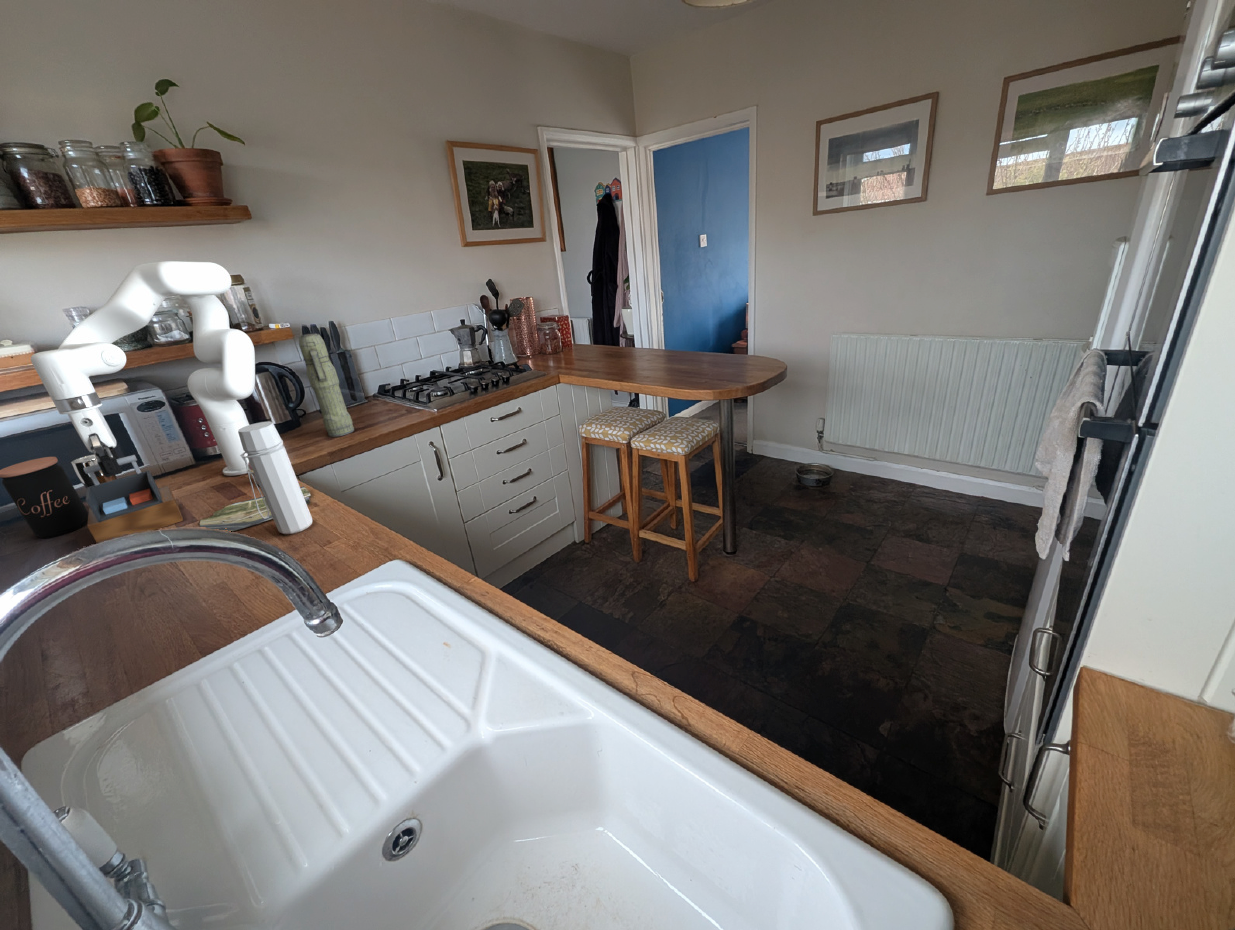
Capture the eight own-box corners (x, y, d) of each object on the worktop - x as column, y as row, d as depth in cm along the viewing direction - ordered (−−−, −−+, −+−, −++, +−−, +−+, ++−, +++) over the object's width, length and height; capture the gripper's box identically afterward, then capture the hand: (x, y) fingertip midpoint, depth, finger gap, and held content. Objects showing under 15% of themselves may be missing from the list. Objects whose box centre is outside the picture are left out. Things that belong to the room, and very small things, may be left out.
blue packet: (126, 502, 130) (124, 497, 129) (127, 508, 126) (124, 502, 126) (105, 508, 127) (102, 503, 127) (105, 514, 124) (102, 509, 123)
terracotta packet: (152, 493, 133) (149, 488, 133) (153, 499, 130) (150, 493, 129) (132, 499, 131) (129, 494, 130) (132, 505, 127) (129, 499, 127)
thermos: (330, 439, 182) (295, 338, 168) (326, 432, 191) (292, 335, 177) (357, 432, 186) (325, 333, 173) (351, 425, 196) (321, 330, 182)
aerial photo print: (203, 547, 118) (200, 540, 117) (193, 522, 131) (190, 516, 130) (321, 503, 133) (319, 498, 132) (302, 485, 146) (300, 480, 145)
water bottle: (308, 516, 126) (270, 418, 116) (318, 526, 121) (279, 424, 111) (266, 533, 121) (222, 431, 111) (274, 543, 115) (229, 438, 105)
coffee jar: (28, 544, 129) (-15, 478, 122) (47, 526, 138) (8, 464, 131) (83, 530, 133) (45, 465, 126) (98, 514, 142) (64, 453, 135)
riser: (178, 505, 142) (168, 485, 139) (183, 520, 132) (172, 499, 130) (100, 529, 132) (88, 509, 130) (100, 548, 123) (87, 526, 120)
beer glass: (111, 514, 141) (83, 463, 135) (92, 514, 143) (63, 463, 137) (137, 501, 147) (111, 452, 141) (118, 502, 149) (92, 453, 143)
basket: (159, 490, 137) (140, 452, 132) (162, 502, 129) (142, 462, 124) (99, 508, 129) (76, 468, 125) (98, 522, 121) (74, 480, 117)
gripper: (99, 404, 118) (134, 473, 125) (100, 394, 131) (132, 457, 137) (53, 413, 114) (93, 484, 121) (59, 402, 126) (94, 467, 133)
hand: (113, 470), depth 129 cm, fingers open, 9 cm apart
